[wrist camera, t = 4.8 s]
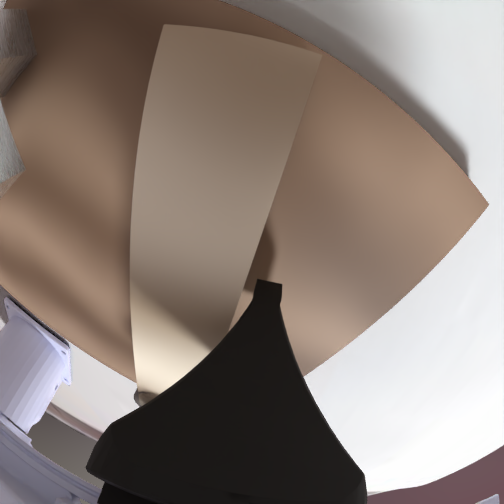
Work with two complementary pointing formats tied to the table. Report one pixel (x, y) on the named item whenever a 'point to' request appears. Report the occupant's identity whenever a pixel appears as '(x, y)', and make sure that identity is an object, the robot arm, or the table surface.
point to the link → (205, 187)
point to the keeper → (4, 76)
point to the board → (283, 207)
